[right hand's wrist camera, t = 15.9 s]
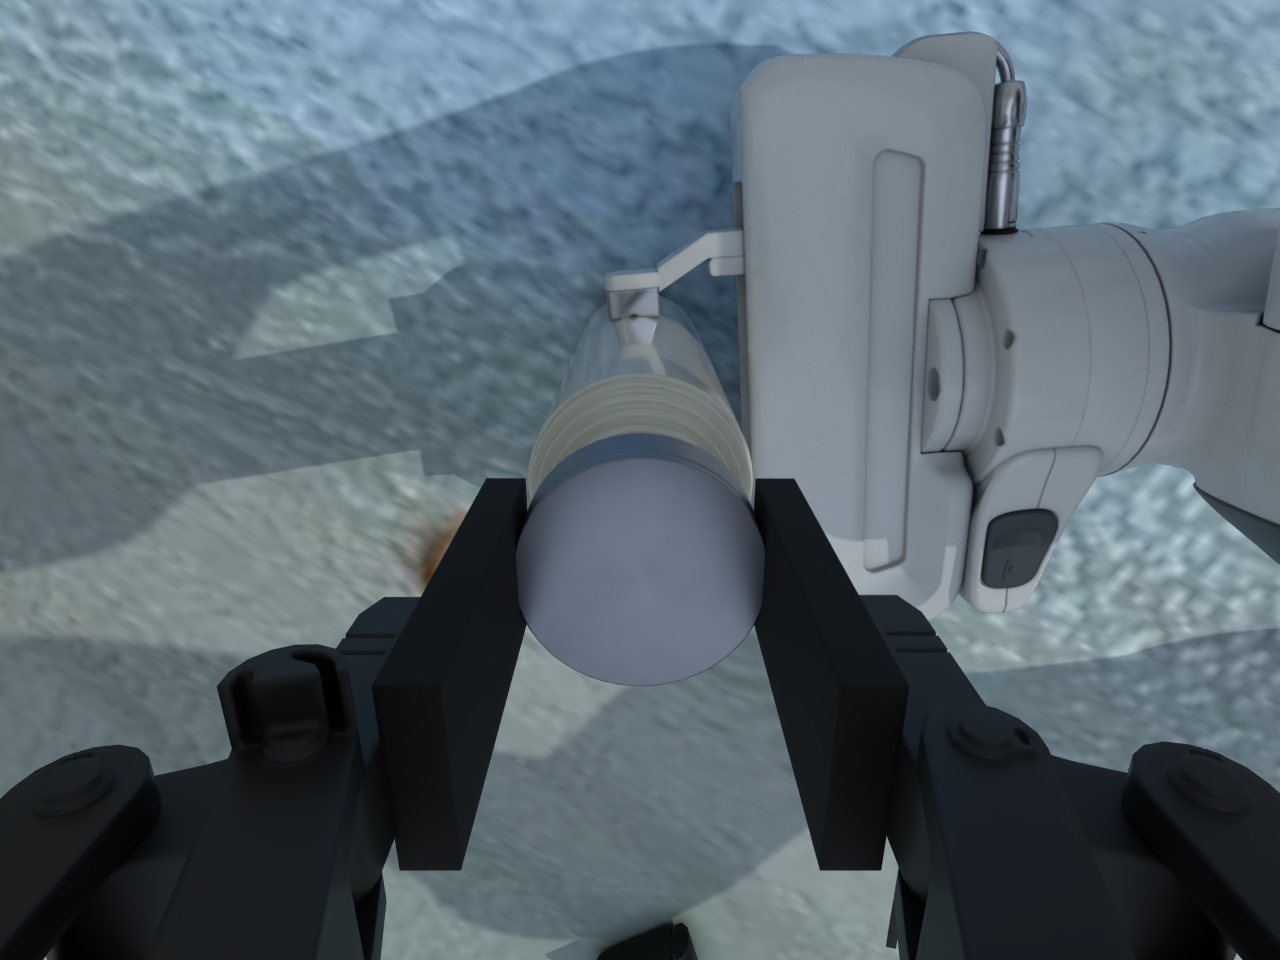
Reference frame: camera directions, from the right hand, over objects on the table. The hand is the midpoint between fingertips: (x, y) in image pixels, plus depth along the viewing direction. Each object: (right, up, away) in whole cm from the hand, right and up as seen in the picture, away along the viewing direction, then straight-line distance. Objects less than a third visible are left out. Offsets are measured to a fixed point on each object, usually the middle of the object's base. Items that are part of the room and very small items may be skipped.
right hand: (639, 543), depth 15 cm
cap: (0, 0, -1) cm, 1 cm away
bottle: (0, +7, +18) cm, 19 cm away
